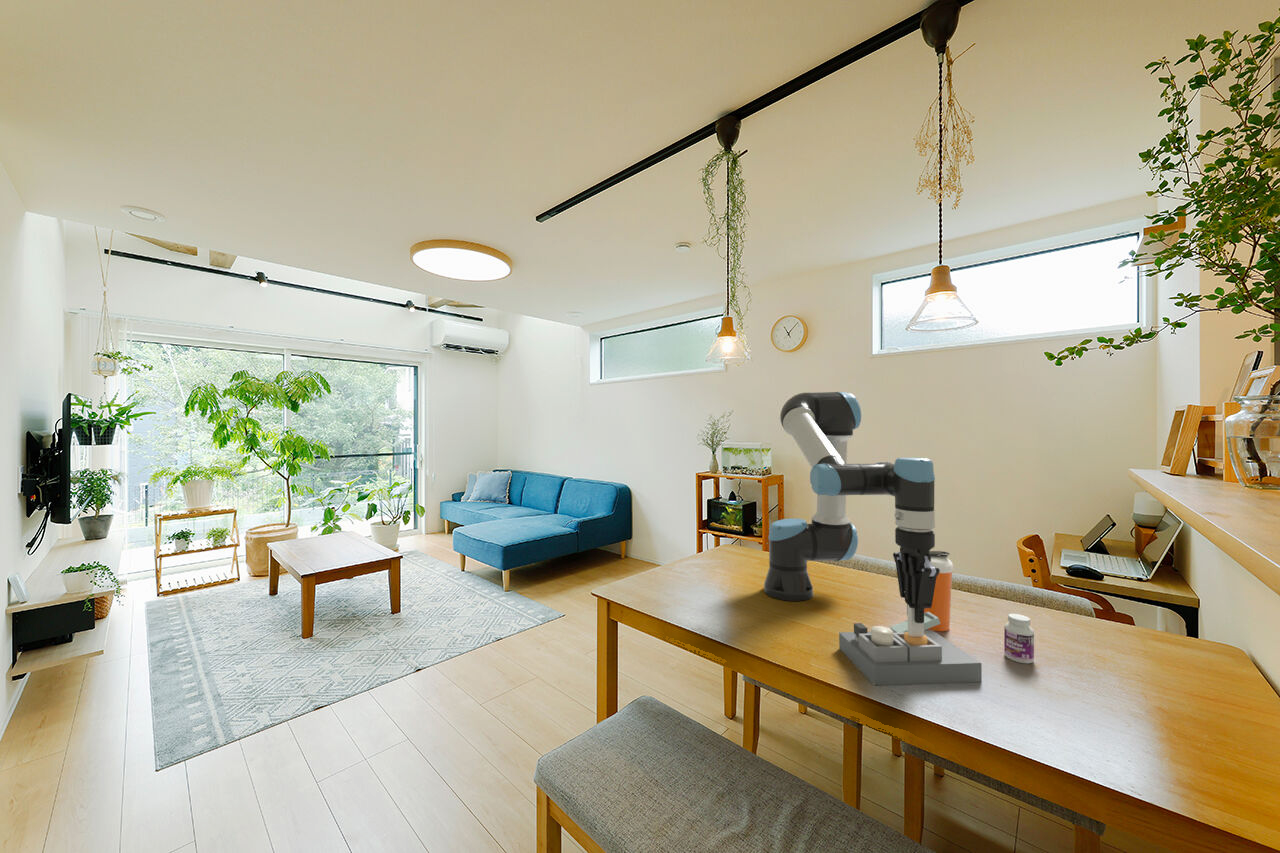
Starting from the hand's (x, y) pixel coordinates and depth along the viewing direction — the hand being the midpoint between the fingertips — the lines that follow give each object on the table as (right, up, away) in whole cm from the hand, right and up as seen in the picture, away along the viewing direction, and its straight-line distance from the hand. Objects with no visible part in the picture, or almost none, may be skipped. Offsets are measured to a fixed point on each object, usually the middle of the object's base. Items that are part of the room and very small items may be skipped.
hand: (915, 635), depth 103 cm
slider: (-9, -3, +6) cm, 12 cm away
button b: (0, -3, 0) cm, 3 cm away
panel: (-1, -8, +3) cm, 9 cm away
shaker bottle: (+18, -8, +23) cm, 30 cm away
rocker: (+4, -1, +7) cm, 8 cm away
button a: (-7, -2, 0) cm, 8 cm away
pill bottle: (+27, -8, +5) cm, 29 cm away
